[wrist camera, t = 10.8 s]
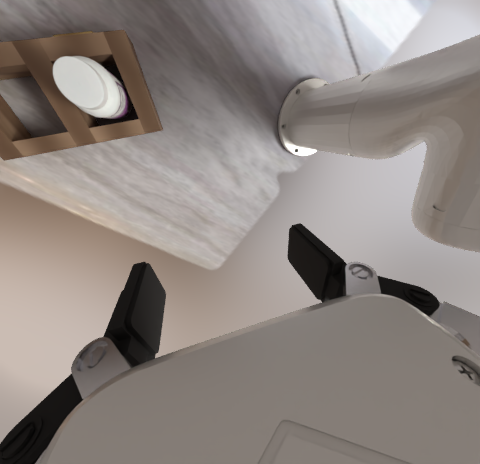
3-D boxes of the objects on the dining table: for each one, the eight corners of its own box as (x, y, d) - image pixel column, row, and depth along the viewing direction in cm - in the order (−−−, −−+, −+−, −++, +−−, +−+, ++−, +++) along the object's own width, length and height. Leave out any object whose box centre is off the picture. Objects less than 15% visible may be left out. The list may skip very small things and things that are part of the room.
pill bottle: (79, 90, 23) (25, 70, 15) (105, 62, 23) (65, 27, 15) (116, 127, 26) (88, 127, 18) (141, 104, 26) (123, 93, 18)
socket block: (130, 39, 22) (122, 24, 19) (163, 130, 28) (160, 130, 25) (-51, 59, 19) (-99, 45, 16) (27, 156, 25) (4, 160, 22)
